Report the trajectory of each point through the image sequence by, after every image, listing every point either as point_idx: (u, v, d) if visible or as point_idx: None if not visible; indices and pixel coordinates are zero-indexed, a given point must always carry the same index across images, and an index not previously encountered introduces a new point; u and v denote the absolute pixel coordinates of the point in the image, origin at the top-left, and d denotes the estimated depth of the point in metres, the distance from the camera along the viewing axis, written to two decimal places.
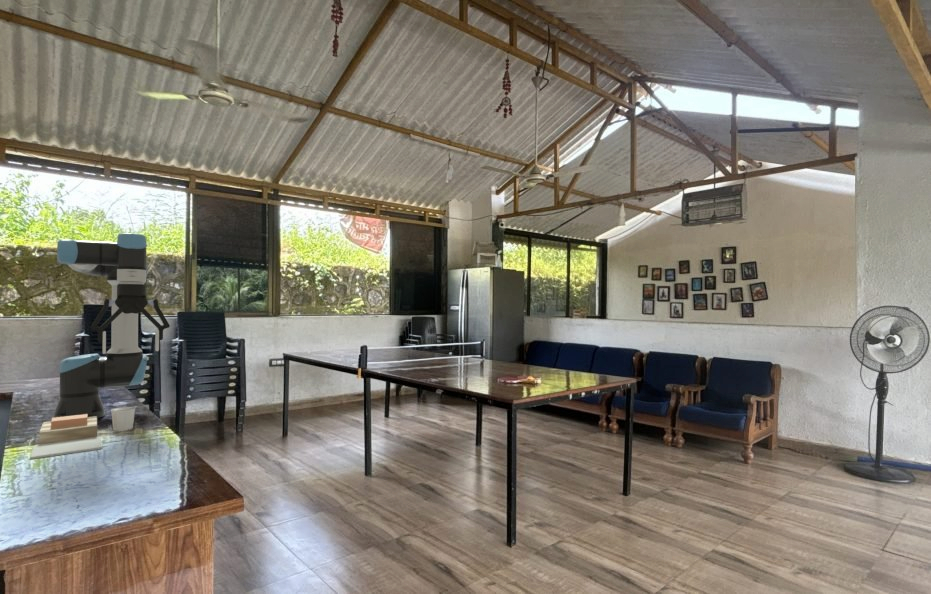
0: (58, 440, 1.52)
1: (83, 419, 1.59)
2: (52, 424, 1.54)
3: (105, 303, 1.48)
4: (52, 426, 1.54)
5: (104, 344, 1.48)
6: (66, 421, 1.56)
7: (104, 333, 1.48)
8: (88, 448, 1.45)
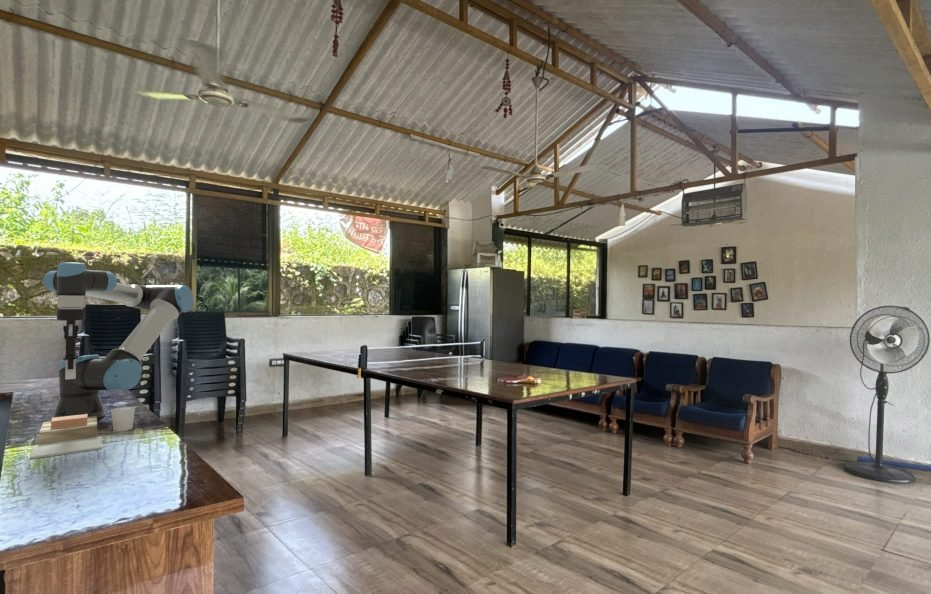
0: (58, 440, 1.52)
1: (83, 419, 1.59)
2: (52, 424, 1.54)
3: None
4: (52, 426, 1.54)
5: (65, 370, 1.65)
6: (66, 421, 1.56)
7: None
8: (88, 448, 1.45)
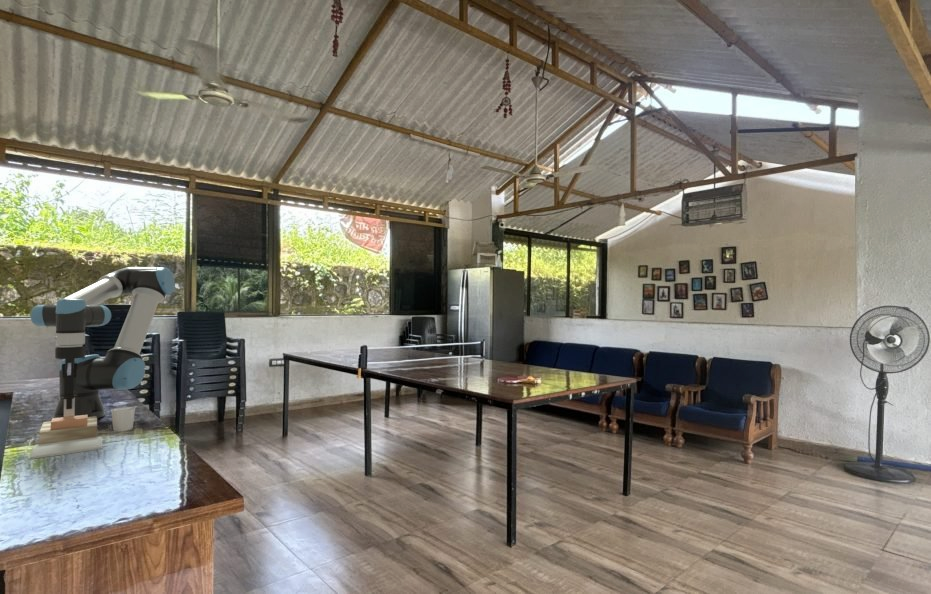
0: (58, 440, 1.52)
1: (83, 420, 1.58)
2: (52, 425, 1.53)
3: None
4: (52, 427, 1.53)
5: (63, 410, 1.60)
6: (66, 422, 1.55)
7: (64, 400, 1.60)
8: (88, 448, 1.45)
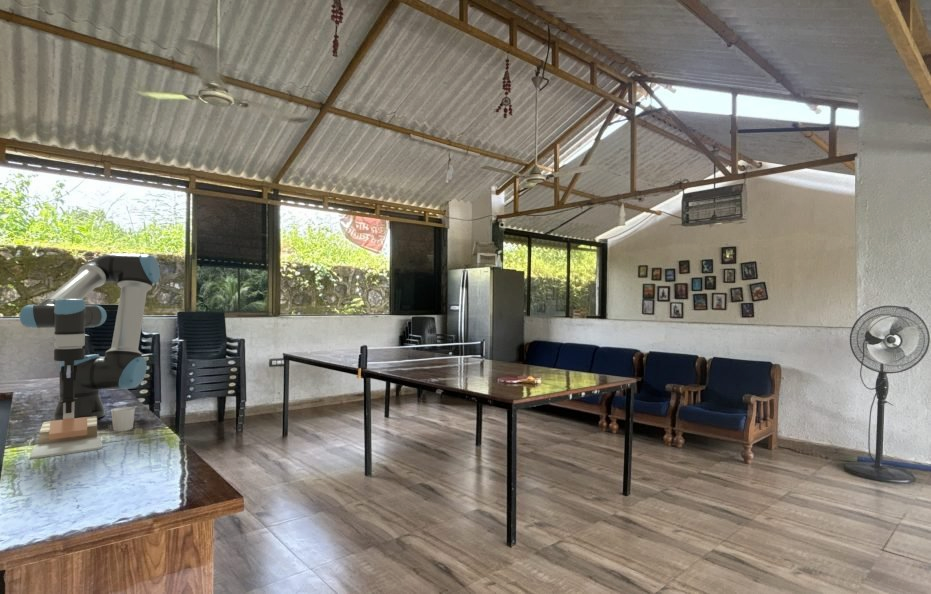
0: (58, 440, 1.52)
1: (83, 431, 1.52)
2: (50, 436, 1.48)
3: None
4: (50, 438, 1.48)
5: (63, 414, 1.55)
6: (65, 433, 1.50)
7: (63, 403, 1.55)
8: (88, 448, 1.45)
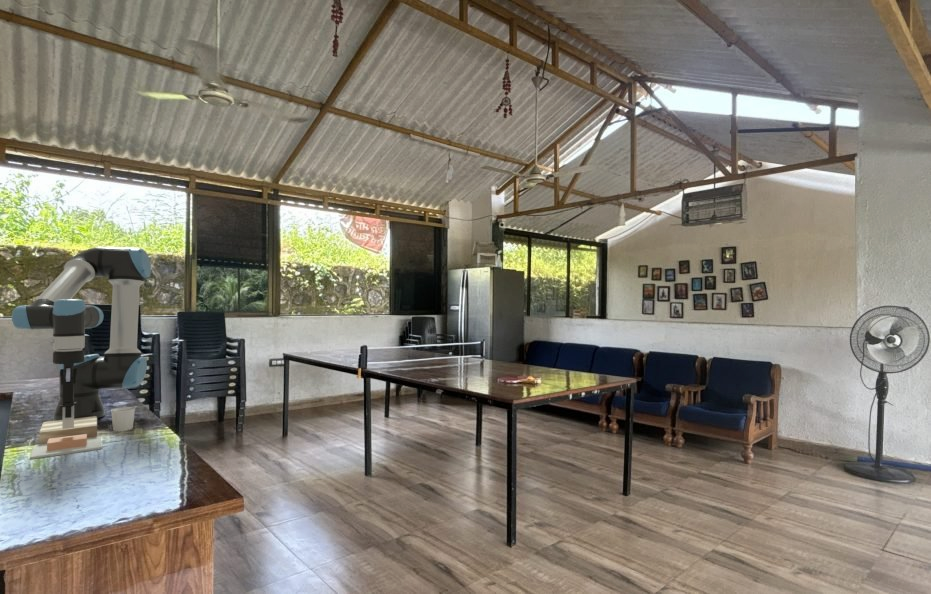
0: None
1: None
2: None
3: None
4: None
5: (62, 419, 1.49)
6: None
7: (62, 408, 1.49)
8: (88, 448, 1.45)
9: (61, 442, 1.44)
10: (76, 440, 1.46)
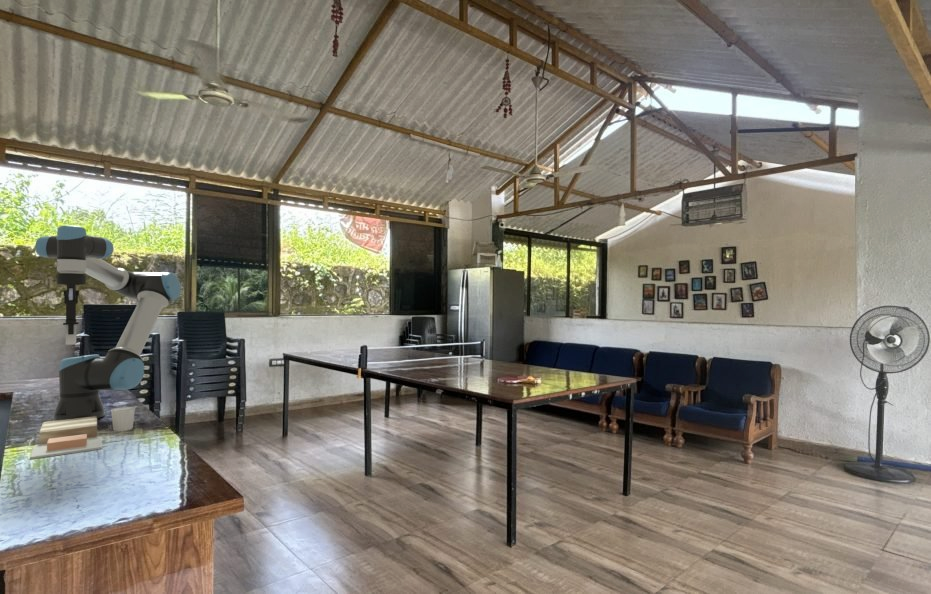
0: None
1: None
2: None
3: None
4: None
5: None
6: None
7: None
8: (88, 448, 1.45)
9: (61, 442, 1.44)
10: (76, 440, 1.46)
